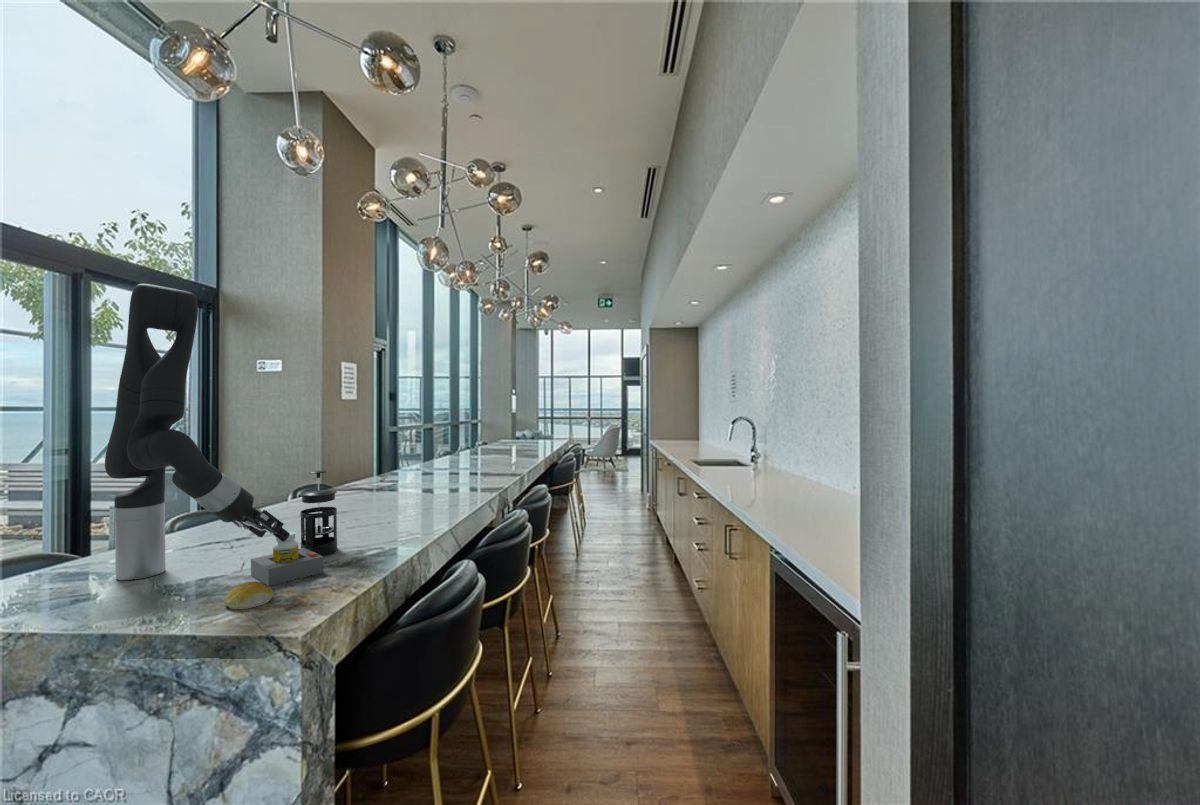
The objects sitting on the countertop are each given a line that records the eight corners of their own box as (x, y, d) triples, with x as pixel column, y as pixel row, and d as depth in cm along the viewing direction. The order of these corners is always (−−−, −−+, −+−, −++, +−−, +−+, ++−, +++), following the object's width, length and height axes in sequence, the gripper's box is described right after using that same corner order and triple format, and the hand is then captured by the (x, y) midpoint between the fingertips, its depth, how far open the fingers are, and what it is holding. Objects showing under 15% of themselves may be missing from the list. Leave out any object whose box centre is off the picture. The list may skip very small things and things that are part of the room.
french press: (310, 547, 150) (309, 468, 149) (344, 546, 150) (343, 467, 150) (290, 560, 138) (289, 474, 138) (327, 559, 139) (326, 473, 139)
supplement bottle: (294, 567, 131) (294, 529, 131) (301, 572, 127) (301, 533, 127) (270, 573, 127) (270, 534, 127) (276, 578, 123) (276, 538, 123)
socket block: (251, 575, 126) (250, 556, 126) (303, 562, 136) (303, 545, 136) (268, 586, 119) (268, 566, 119) (323, 572, 128) (323, 554, 128)
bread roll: (262, 592, 116) (262, 574, 116) (278, 602, 110) (278, 583, 110) (218, 603, 110) (218, 584, 110) (232, 614, 104) (232, 594, 104)
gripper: (255, 485, 113) (305, 525, 124) (216, 481, 119) (266, 519, 130) (230, 514, 109) (283, 553, 119) (191, 508, 115) (245, 546, 125)
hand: (274, 535), depth 125 cm, fingers open, 8 cm apart
